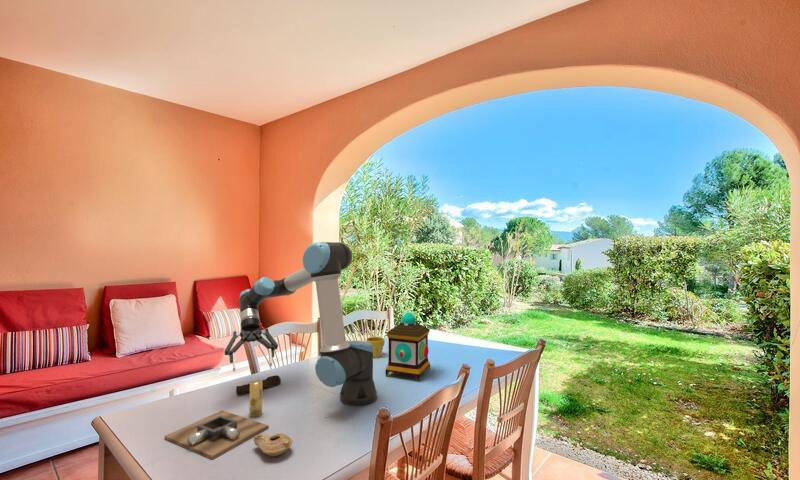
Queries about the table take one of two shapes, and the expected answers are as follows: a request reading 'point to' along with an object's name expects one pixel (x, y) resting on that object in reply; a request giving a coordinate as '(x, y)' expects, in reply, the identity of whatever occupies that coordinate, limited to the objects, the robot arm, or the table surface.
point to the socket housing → (209, 433)
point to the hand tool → (267, 383)
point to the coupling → (255, 398)
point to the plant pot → (376, 345)
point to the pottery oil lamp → (273, 443)
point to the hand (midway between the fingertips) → (253, 367)
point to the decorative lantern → (408, 347)
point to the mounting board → (221, 445)
